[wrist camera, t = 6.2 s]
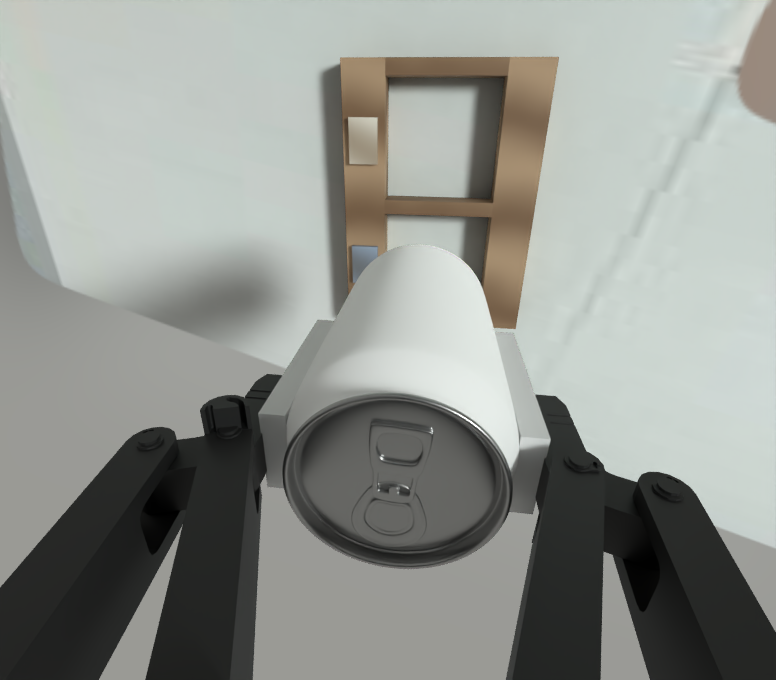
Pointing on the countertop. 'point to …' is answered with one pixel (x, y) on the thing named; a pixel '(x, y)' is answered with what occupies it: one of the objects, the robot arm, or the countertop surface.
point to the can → (405, 418)
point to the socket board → (505, 208)
